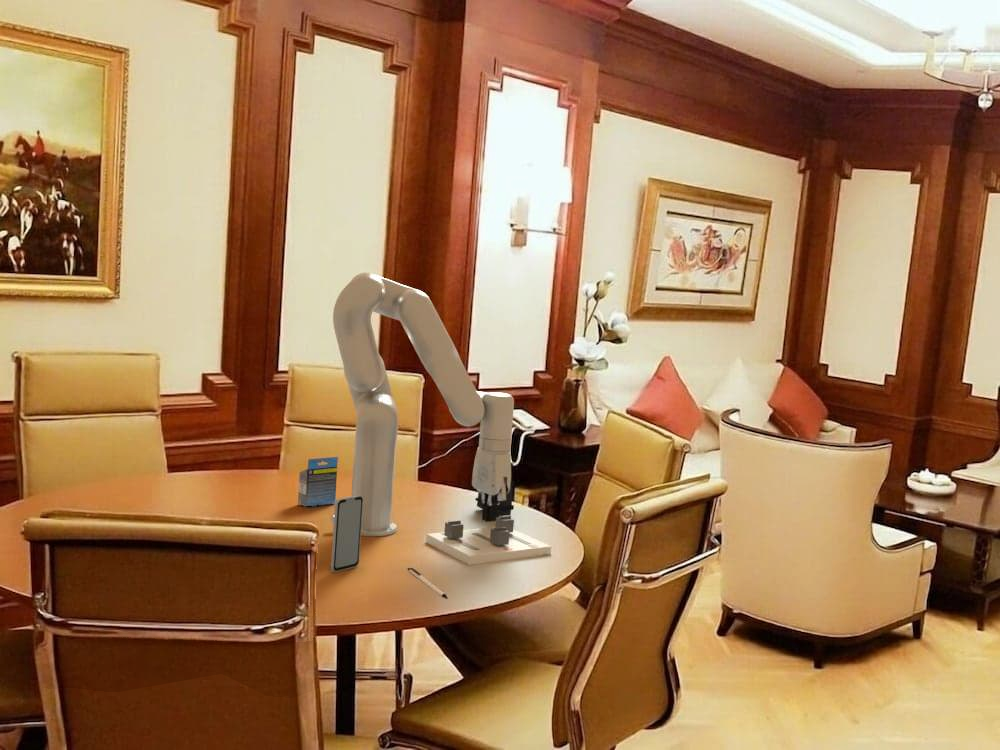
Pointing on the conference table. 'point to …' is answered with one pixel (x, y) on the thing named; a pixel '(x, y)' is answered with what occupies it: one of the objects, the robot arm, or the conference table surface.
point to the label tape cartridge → (318, 482)
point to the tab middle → (499, 536)
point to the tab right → (505, 522)
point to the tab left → (454, 529)
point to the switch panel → (487, 546)
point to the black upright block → (501, 502)
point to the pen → (427, 582)
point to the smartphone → (346, 533)
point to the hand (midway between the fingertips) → (489, 520)
